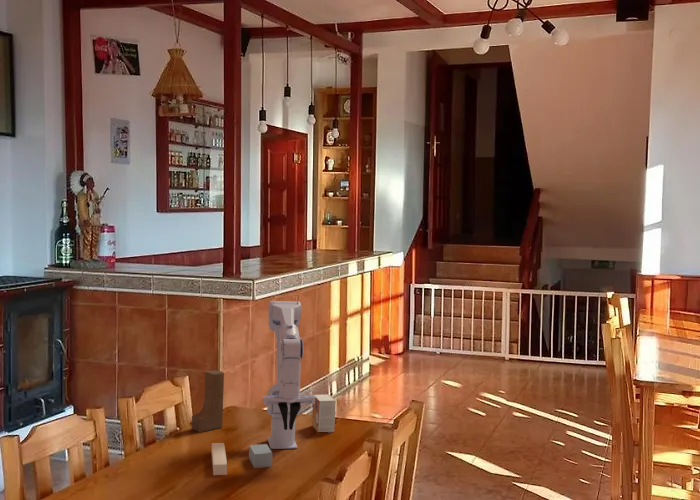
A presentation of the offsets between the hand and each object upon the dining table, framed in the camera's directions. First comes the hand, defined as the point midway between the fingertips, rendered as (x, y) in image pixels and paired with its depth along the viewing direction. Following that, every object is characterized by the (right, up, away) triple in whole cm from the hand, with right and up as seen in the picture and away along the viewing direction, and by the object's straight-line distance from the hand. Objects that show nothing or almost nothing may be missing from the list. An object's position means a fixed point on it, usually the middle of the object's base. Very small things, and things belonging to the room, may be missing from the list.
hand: (288, 428), depth 215 cm
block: (-8, -9, -1) cm, 12 cm away
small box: (+9, -8, +33) cm, 35 cm away
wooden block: (-28, -7, +28) cm, 40 cm away
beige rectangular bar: (-19, -9, -3) cm, 21 cm away
